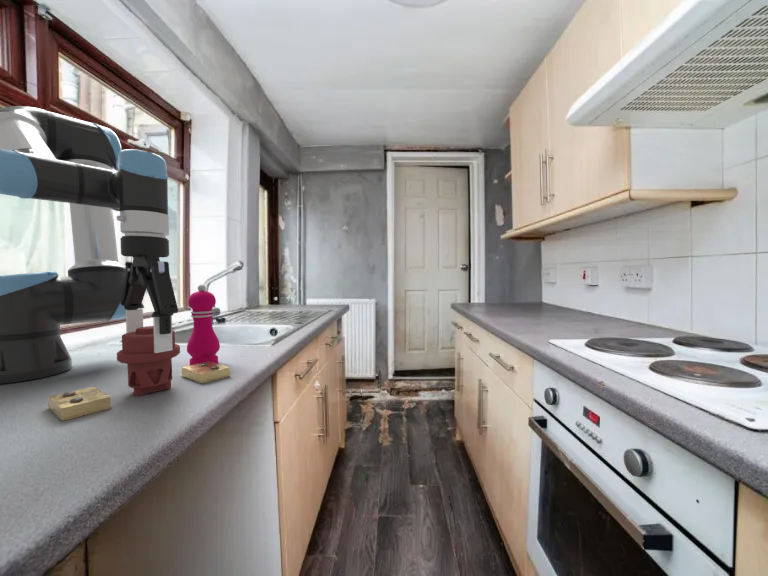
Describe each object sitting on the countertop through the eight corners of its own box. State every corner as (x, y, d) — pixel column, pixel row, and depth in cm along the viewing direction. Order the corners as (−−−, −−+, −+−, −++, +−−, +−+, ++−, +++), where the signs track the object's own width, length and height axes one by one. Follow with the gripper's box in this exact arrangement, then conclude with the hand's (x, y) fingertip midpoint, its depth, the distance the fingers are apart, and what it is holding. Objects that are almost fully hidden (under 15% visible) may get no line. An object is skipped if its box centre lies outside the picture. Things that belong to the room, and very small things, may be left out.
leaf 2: (182, 376, 73) (181, 366, 73) (209, 369, 78) (209, 360, 78) (202, 383, 68) (201, 372, 68) (230, 376, 73) (229, 366, 73)
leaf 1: (48, 407, 56) (48, 394, 56) (94, 397, 61) (93, 384, 61) (62, 421, 51) (61, 406, 51) (110, 408, 56) (110, 394, 56)
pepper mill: (215, 359, 88) (213, 284, 87) (224, 364, 82) (221, 284, 82) (184, 364, 83) (181, 284, 82) (191, 370, 78) (188, 285, 77)
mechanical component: (193, 383, 69) (149, 401, 59) (152, 380, 71) (104, 397, 61) (191, 324, 68) (147, 332, 58) (150, 323, 70) (101, 331, 60)
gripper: (99, 237, 68) (103, 340, 69) (148, 230, 53) (152, 361, 54) (142, 240, 74) (145, 334, 75) (197, 234, 59) (199, 352, 60)
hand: (148, 346), depth 65 cm, fingers open, 13 cm apart
